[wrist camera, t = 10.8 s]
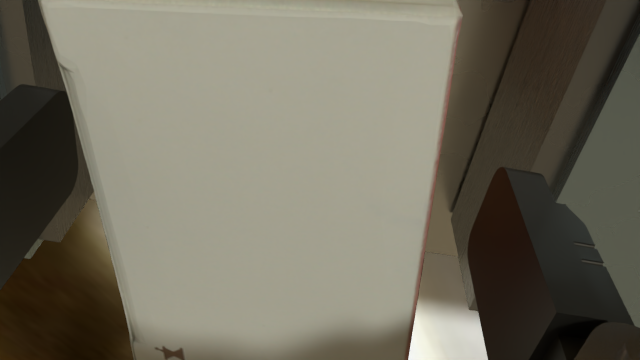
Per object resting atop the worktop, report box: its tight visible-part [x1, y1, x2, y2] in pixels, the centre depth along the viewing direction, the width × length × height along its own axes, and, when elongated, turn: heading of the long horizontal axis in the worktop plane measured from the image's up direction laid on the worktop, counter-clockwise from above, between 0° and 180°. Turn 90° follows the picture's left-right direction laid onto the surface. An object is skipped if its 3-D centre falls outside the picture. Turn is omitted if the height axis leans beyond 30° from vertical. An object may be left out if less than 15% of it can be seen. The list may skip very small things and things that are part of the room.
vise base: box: [0, 0, 530, 259], centre depth 16 cm, size 30×17×6 cm, turn 82°
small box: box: [38, 0, 463, 360], centre depth 13 cm, size 8×6×10 cm
